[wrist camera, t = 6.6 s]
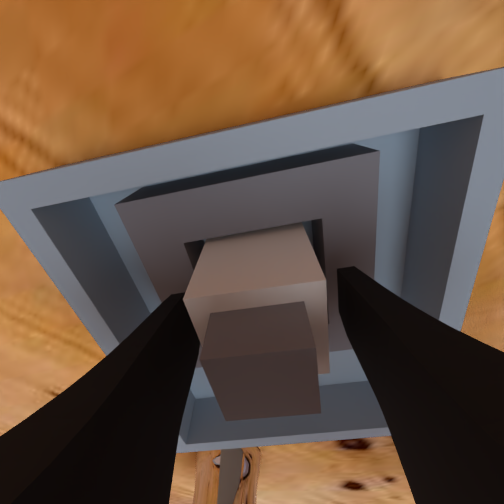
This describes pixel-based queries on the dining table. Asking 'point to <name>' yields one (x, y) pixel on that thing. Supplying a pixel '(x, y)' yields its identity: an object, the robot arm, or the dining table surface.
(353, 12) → the dining table surface
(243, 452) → the beer glass
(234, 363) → the plug
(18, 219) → the inlet box
